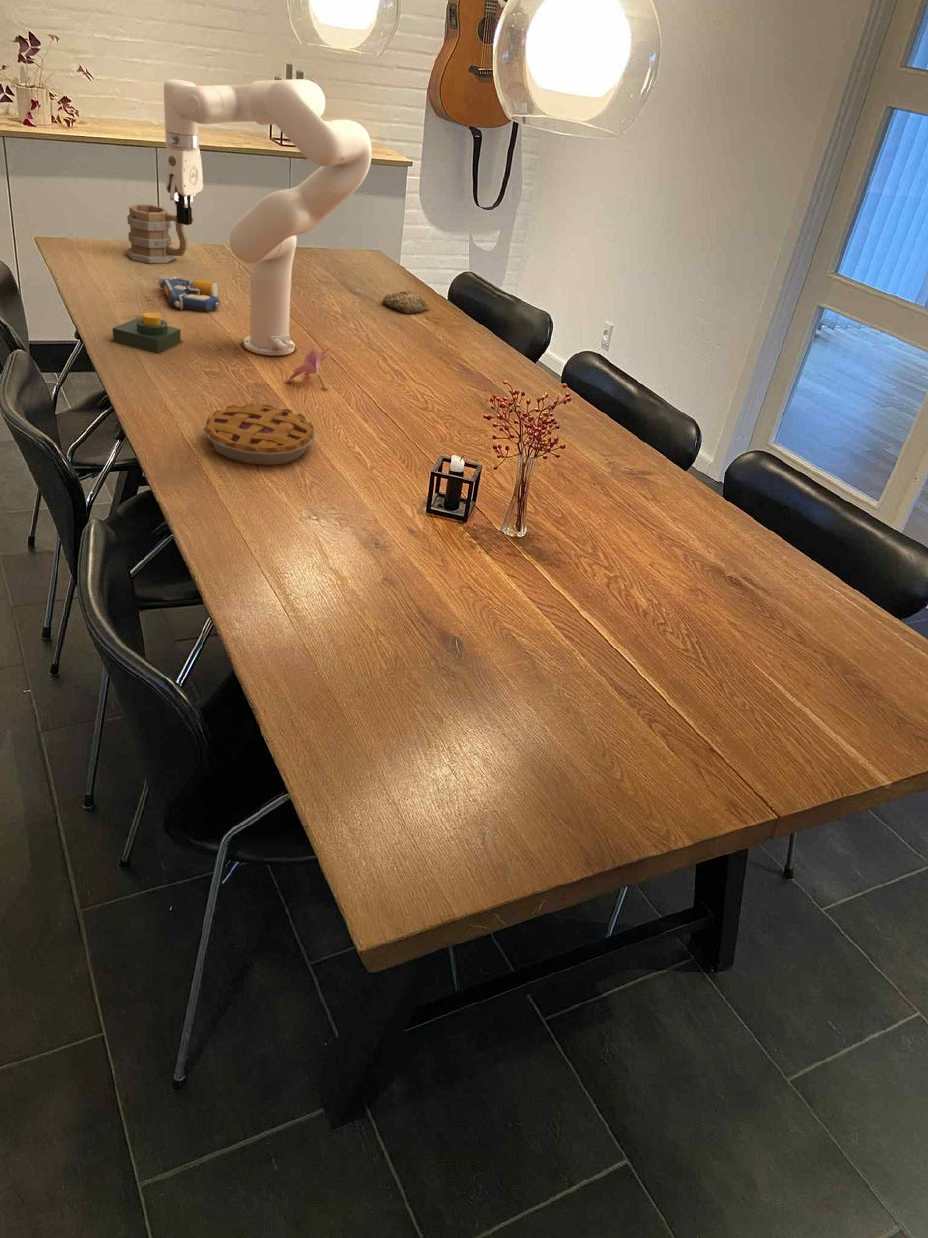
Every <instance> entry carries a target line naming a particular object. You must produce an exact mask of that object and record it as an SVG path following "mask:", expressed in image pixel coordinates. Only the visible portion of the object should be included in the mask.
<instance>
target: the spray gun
mask: <svg viewBox="0 0 928 1238" xmlns="http://www.w3.org/2000/svg"><path fill="white" fill-rule="evenodd" d="M158 282H159V288H160V289H162V290H163V292H164V293H165V295H166V297H167V299H168V302H169V304H170V306H171V307H173V308H179V310H180V311H182V310H184V309H187V310H196V311H201V312H202V311H203V312H209V311H212V310H216V309H219V308H220V306H221V302H220V300H219V299H218V293H219V286H218V284H217V283H216V282H215V281H214V282H213V281H208V280H205V279H199V278H196V279H194V280H188V279H184V278H181V277H180V278H179V276H177V275H175V276H173V277H160V278H159V279H158Z"/></svg>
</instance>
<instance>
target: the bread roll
mask: <svg viewBox="0 0 928 1238" xmlns="http://www.w3.org/2000/svg"><path fill="white" fill-rule="evenodd" d="M382 302H383V304H384V305H386V306H387V307H389V308H392V309H393V310H395V311H398V312H401V313H403V314H420V313H422V312H425V311H427V310H428V307H429V303H428V302H427V300H426V299H425V298H424V297H423V296H422V295H420V294H419V293H417V292H415V291H411V290H402V291H399V292H393V293H387V294H385V296H384V297H383V299H382Z"/></svg>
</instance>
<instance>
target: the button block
mask: <svg viewBox="0 0 928 1238" xmlns="http://www.w3.org/2000/svg"><path fill="white" fill-rule="evenodd" d="M181 336H182V335H181V328H178V327H174V326H169V325H168V321H166V320H164V319H161V325H159V326H148V325H144V324H143V317H142V318H139V317H136V318H134V319H131V320H129V321H126V322H124V323H122V324H119V325H117V326H114V327H112V341H113V342H116V343H119V344H124V345H127V346H130V347H134V348H138V349H141V350H145V351H149V352H153V353H157V354H158V353H161V352H163V351H165V350H167V349H170V348H171V347H173V346H175V345H177V344H180V343H182V339H181V338H182V337H181Z"/></svg>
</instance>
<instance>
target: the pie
mask: <svg viewBox="0 0 928 1238" xmlns="http://www.w3.org/2000/svg"><path fill="white" fill-rule="evenodd" d="M203 431H204V433H205V435H206V437H207V438H208V440H209V441H211V444H212V445H213V447H214V449H215V452H216V453H218V454H219V455H222V456H224V457H226V458H228V459H231V460H235V461H239V462H242V463H246V464H255V465H264V466H265V465H266V466H272V465H285V464H288V463H291V462H294V461H295V460H297V459H298V458H300V457H301V456H302V455H303V454H304V453H305V452H306V450H307V449H308V448H309V446H310V444H312V442H314V441H315V437H316V436H315V435H316V430H315V428H314V425H313V423H312V422H311V421H309V420H307V417H306V416H305V415H304V414H302V413H298V414H295V413H294V412H293V410H292V409H289V408H283V409H280V408H277V407H275V406H273V405H270V404H264V405H262V406H260V405H255V404H253V403H249V404H245V405H243V406H237V405H235V404H233V405H227V406H226V408H225V409H223V410H221V409H217V410H215V411H214V412H213V414H212V416H208V417H207V419H206V422H205V424H204V427H203Z"/></svg>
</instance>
